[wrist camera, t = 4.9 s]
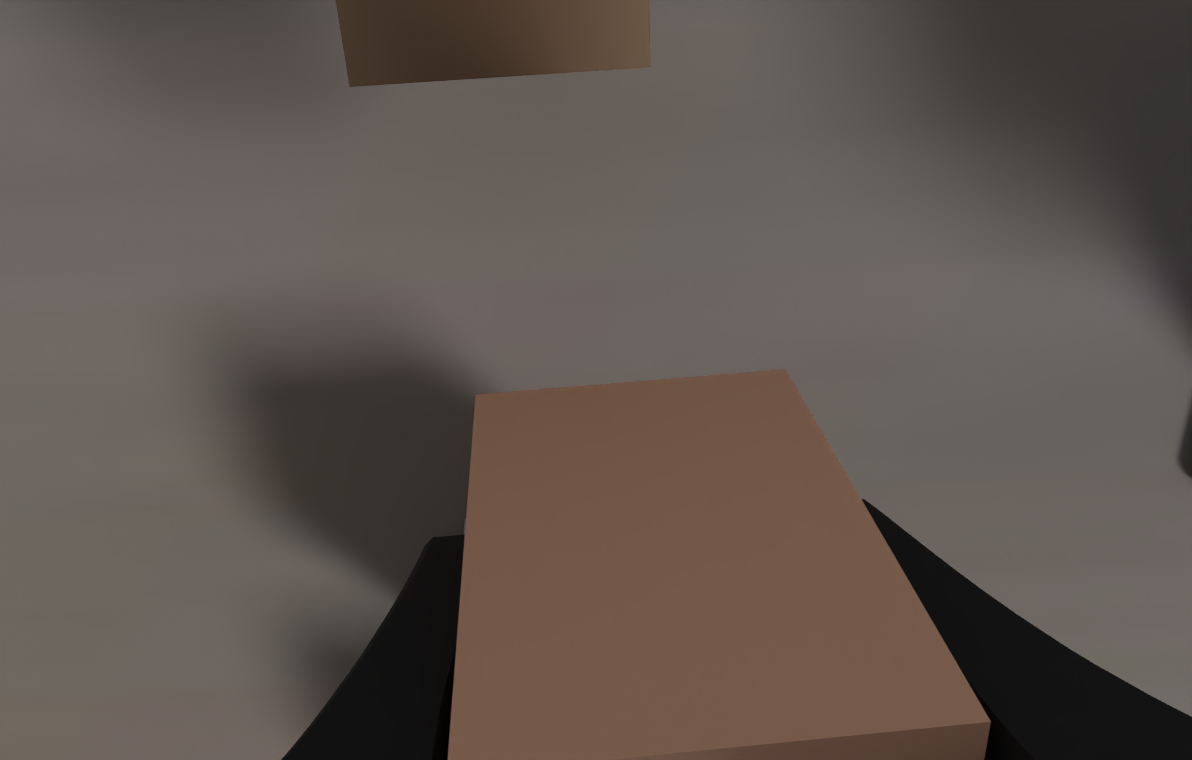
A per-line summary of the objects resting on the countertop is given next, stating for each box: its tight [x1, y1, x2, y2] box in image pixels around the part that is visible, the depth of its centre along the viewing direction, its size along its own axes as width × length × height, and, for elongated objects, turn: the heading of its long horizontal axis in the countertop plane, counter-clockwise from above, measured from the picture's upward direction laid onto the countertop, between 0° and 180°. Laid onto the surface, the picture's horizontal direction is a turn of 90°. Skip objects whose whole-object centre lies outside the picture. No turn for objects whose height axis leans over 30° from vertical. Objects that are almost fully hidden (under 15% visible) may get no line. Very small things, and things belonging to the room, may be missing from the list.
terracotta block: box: [448, 369, 991, 760], centre depth 11 cm, size 4×4×6 cm
